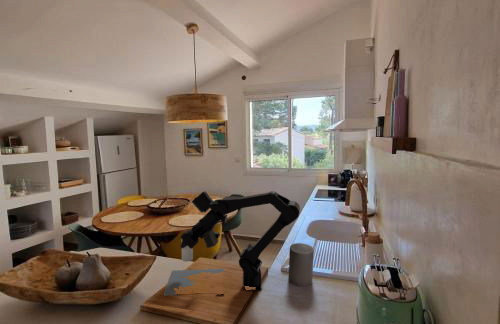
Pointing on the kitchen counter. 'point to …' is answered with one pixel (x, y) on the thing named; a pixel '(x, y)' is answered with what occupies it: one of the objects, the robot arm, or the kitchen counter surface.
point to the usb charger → (187, 254)
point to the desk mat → (184, 279)
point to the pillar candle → (301, 264)
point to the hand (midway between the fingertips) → (184, 245)
